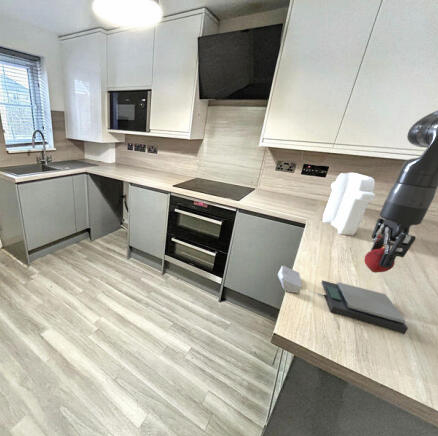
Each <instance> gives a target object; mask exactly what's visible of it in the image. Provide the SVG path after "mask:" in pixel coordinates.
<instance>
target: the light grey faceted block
mask: <svg viewBox="0 0 438 436" xmlns="http://www.w3.org/2000/svg"><path fill="white" fill-rule="evenodd" d="M277 277H278V280H279V282H280V285H281V287H282V289H283V290H284V291H285V292H287V293H292V294H293V293H294V294H299V293H300V292H301V290H302V279H301V275H300V272H299V271H296V270H294V269H291V268H289V267H287V266H285V265H281V267H280V269H279V271H278V272H277Z"/></svg>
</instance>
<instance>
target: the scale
mask: <svg viewBox="0 0 438 436" xmlns="http://www.w3.org/2000/svg"><path fill="white" fill-rule="evenodd" d="M336 284H337V283H334V282H331V281H327V280H326V281H325V280H321V285H322V287H323V291H324V294H323V297H324V298H325V301H326V305H327V306H328V310H329V311H330V312H329V313H331V314H335V315H337V316H338V315H339V316H342V317H345V318H349V319H353V320H355V321H359V322H362V323H366V324H369V325H373V326H376V327H379V328H383V329H386V330H390V331H392V332H397V333H400V334H403V335H405V334H406V333H407V331H408V329H409V327H408V326H407V324H406V322H405V323H404V324H403V323H400V322H396V321H392V320H389V319H385V318H382V317H378V316H375V315H371V314H368V313H364V312H361V311H357V310H354V309H350V308H347V306H346V304H345V302H344V299H343V297H342V295H341V293H340V291H339V289H338V287H337V285H336Z"/></svg>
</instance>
